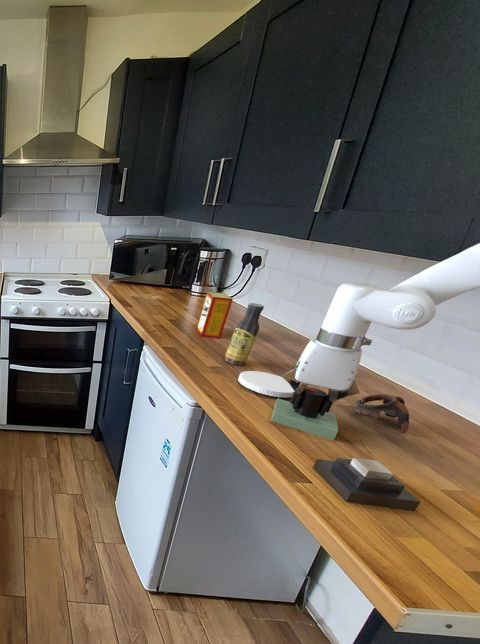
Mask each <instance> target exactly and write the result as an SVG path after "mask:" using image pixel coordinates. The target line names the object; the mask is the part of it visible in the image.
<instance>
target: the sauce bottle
mask: <svg viewBox="0 0 480 644" xmlns="http://www.w3.org/2000/svg"><path fill="white" fill-rule="evenodd" d="M264 307H265V306H264V305H263V304H260V303H256V302H255V303H254V302H250V303H248V305H247V309H246V311H245V314H244V316H243V318H242V319H241V320H240V321H239V322H238V324H237V325H236V327H235V328H234V331H233V333H232V336H231V339H230V340H229V341H230V342H229V344H228V347H227V350H226V352H225V355H224V361H225V362H227V363H228V364H232V365H234V366H244V365H245V364H246V362H247V361H248V359H249V356H250V354H251V351H252V349H253V346H254V344H255V342H256V339H257V335H258V333H259V331H260V323H259V319H260V316H261V313H262V312H263V311H264Z"/></svg>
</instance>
